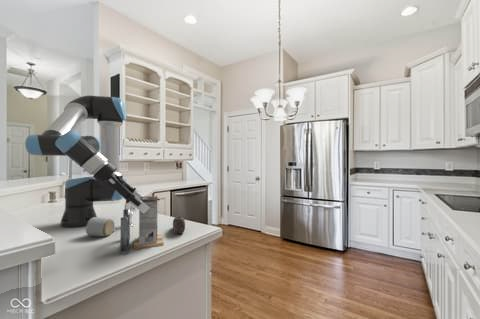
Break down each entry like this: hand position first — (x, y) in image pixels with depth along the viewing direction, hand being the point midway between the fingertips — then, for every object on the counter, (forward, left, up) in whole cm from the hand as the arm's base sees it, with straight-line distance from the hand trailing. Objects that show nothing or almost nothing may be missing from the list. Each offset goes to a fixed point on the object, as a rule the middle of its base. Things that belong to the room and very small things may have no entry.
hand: (145, 207), depth 88 cm
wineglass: (-29, -6, -14) cm, 33 cm away
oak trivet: (0, +1, -14) cm, 14 cm away
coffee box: (0, +1, -13) cm, 13 cm away
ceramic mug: (-18, -17, -14) cm, 28 cm away
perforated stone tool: (-11, +14, -14) cm, 23 cm away
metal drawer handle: (0, -7, -14) cm, 15 cm away
